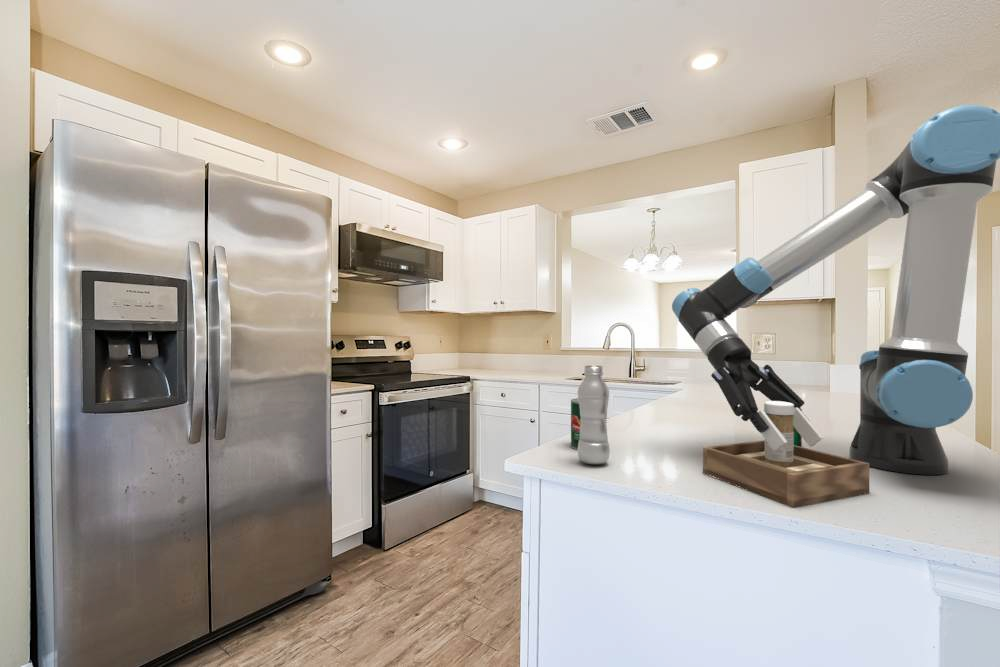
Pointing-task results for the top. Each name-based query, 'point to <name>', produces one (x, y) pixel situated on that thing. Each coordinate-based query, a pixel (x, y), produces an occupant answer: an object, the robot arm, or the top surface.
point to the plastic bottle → (593, 417)
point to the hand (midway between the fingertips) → (799, 444)
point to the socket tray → (787, 473)
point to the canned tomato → (575, 423)
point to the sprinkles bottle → (783, 421)
